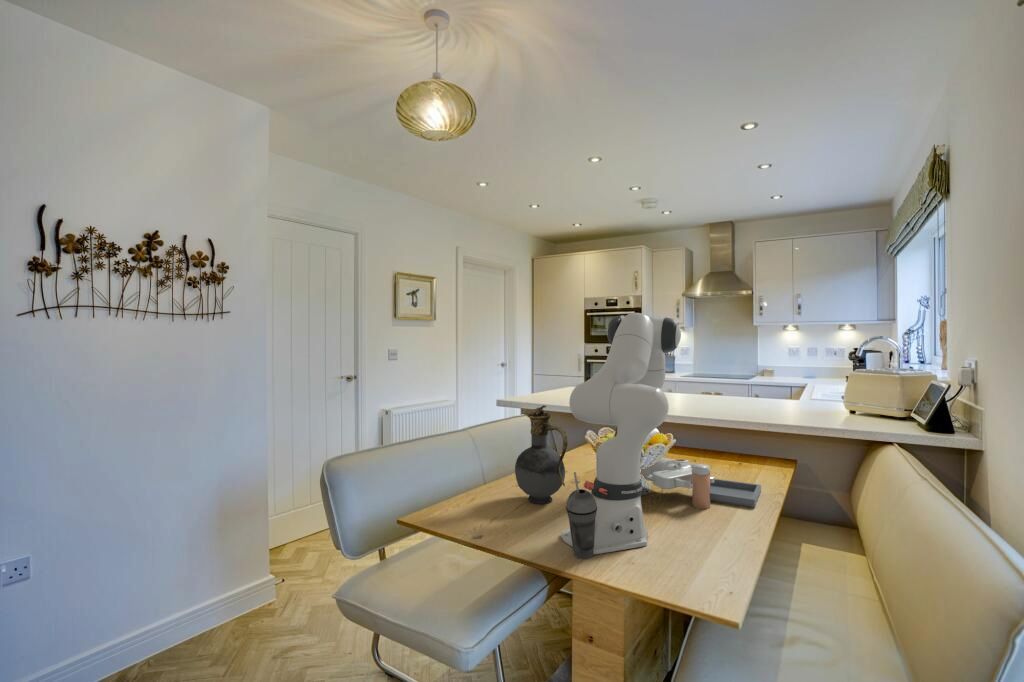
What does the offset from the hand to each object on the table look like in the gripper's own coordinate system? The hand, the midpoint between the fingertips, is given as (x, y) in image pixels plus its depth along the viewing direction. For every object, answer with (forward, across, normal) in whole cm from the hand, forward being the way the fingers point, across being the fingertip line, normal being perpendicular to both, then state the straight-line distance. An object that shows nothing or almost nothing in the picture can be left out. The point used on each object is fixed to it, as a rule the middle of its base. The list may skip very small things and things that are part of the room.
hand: (702, 483), depth 146 cm
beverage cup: (+8, -50, +7) cm, 51 cm away
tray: (-3, +15, +7) cm, 17 cm away
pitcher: (-29, -38, +7) cm, 48 cm away
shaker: (-1, 0, +7) cm, 7 cm away
